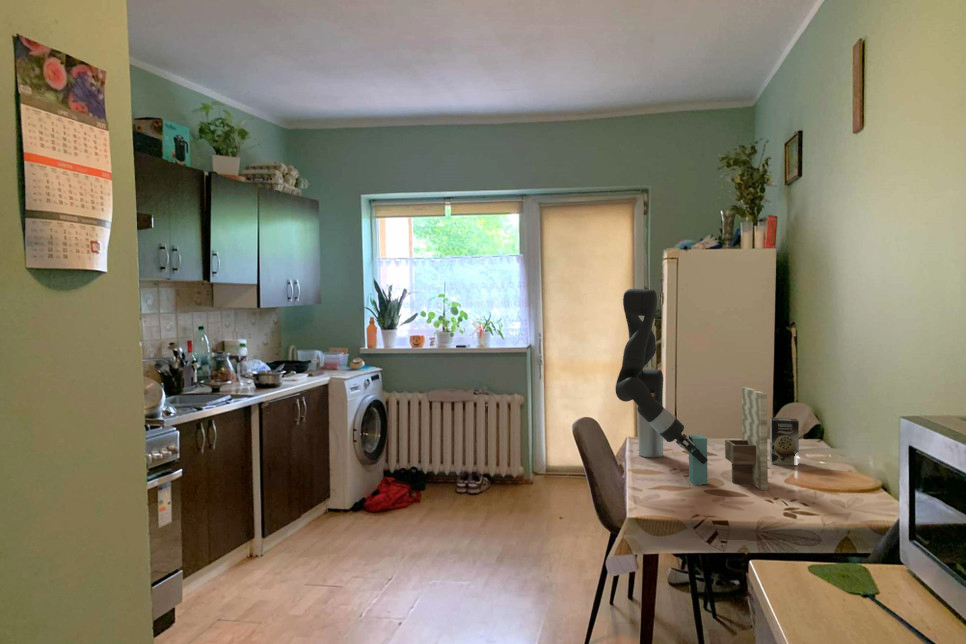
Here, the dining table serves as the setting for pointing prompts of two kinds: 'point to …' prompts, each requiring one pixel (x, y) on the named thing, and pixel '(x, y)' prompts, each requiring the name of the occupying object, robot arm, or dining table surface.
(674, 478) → the dining table surface
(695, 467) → the chunky teal box
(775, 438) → the coffee box
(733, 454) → the ledge stand with backboard
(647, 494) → the dining table surface
